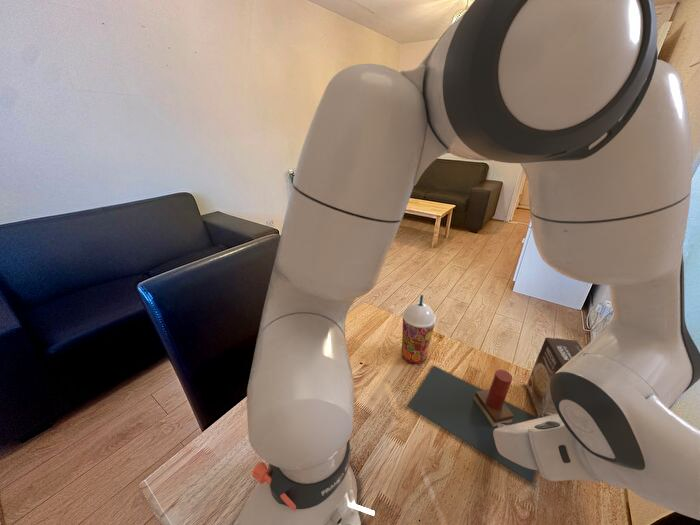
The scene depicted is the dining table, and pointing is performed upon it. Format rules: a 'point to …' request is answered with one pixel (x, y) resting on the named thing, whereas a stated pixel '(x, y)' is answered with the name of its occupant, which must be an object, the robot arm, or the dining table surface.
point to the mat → (464, 415)
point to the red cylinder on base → (496, 399)
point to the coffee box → (549, 371)
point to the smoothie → (417, 331)
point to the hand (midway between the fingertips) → (523, 422)
